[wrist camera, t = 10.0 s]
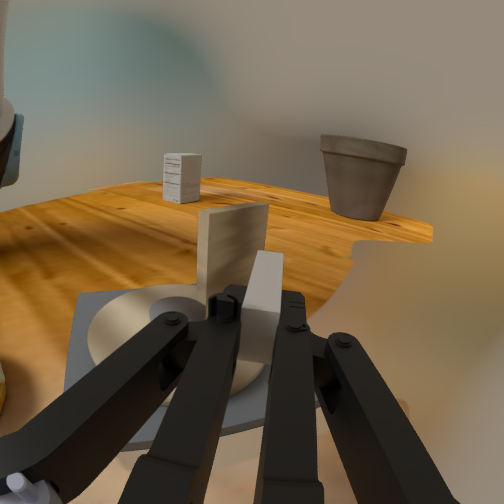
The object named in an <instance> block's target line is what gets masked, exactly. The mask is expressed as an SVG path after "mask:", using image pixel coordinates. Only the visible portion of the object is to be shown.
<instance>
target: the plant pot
mask: <svg viewBox="0 0 504 504" xmlns="http://www.w3.org/2000/svg"><path fill="white" fill-rule="evenodd" d="M320 151H322V152H323V156H324V163H325V170H326V177H327V185H328V193H329V200H330V206H331V210H332V211H333V212H334V213H336V214H339V215H341V216H344V217H348V218H353V219H358V220H366V221H375V220H378V219H379V217H380V216H381V214H382V212H383V209H384V207H385V205H386V203H387V200H388V198H389V196H390V193H391V191H392V189H393V186H394V184H395V181H396V179H397V176H398V174H399V171H400V168H401V166H403V165H405V159H406V154H407V149H406V148H403V147H400V146H396V145H392V144H387V143H383V142H378V141H373V140H367V139H361V138H355V137H348V136H339V135H324V134H323V135H321V145H320Z"/></svg>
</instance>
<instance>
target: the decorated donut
mask: <svg viewBox="0 0 504 504" xmlns="http://www.w3.org/2000/svg"><path fill="white" fill-rule="evenodd" d="M6 393H7V389H6V383H5V376H4V373H3V370H2V367H1V362H0V415H1V409H2V407H3V404H4V401H5V396H6Z"/></svg>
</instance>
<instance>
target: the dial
mask: <svg viewBox="0 0 504 504" xmlns="http://www.w3.org/2000/svg"><path fill="white" fill-rule="evenodd" d="M268 209H269V204H267V203H263V202H259V201H258V202H251V203H244V204H237V205H231V206H224V207H217V208H211V209H205V210H199V216H198V244H197V285H190V284H166V285H157V286H150V287H145V288H141V289H137V290H134V291H131V292H128V293H126V294H123V295H121V296H119V297H117V298H115V299H114V300H112V301H110V302H109V303H108V304H106V305H105V306H104V307H103V308H102V309H101V310H99V311H98V313H97V314H96V315H95V317H94V318H93V320H92V322H91V324H90V326H89V330H88V336H87V341H88V348H89V351H90V355H91V358H92V361H93V364H94V366H95V367H96V366H97V365H98V364H99V363H100V362H102V361H103V360H104V359H105V358H107V357H108V356H109V355H110V354H112V353H113V352H114V351H115V350H116V349H118V348H119V347H120V346H121V345H123V344H124V343H125V342H126V341H127V340H129V339H130V338H131V337H132V336H134V335H135V334H136V333H137V332H139V331H140V330H141V329H142V328H144V327H145V326H146V325H147V324H148V323H150V322H151V321H152V320H153V319H155V318H156V317H157V316H158V315H160V314H162V313H164V312H168V311H177V312H181V313H183V314H185V315H186V316H187V317H188V322H191V321H203V320H206V319H207V317H208V298H209V297H210V296H211V295H214V294H216V293H223V291H224V288H225V287H227V286H228V285H230V284H235V285H242V286H248V284H249V280H250V277H251V273H252V270H253V266H254V263H255V259H256V255H257V252H258V250H262V251H264V246H265V237H266V228H267V218H268ZM237 358H238V356H237ZM265 365H266V364H264V363H256V362H249V361H242V360H237V363H236V370H235V374H234V379H233V383H232V387H231V391H230V395H233V394H235V393H237V392H238V391H240V390H242V389H243V388H245V387H246V386H248V385H249V384H250V383H251V382H252V381H253V380H255V379H256V377H257V376H258V375H259V374H260V373H261V372H262V370H263V368H264V366H265ZM175 390H176V388H175V389H174V390H173V391H172V393H171V394H170V395H169V396H168V397H167V399H166V400H165V401H164V402H163V403H162V404H161V405H164V406H169V403H170V401H171V399H172V396H173V394H174V392H175ZM230 395H229V396H230Z"/></svg>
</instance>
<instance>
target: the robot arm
mask: <svg viewBox="0 0 504 504" xmlns="http://www.w3.org/2000/svg"><path fill="white" fill-rule="evenodd" d="M9 1H10V0H0V189H1V188H2V187H5V186H9V185H13V184H14V183H15V182H16V181H17V180H18V177H19V163H20V149H21V138H22V130H23V122H24V116H23V115H22V114H18V113H15V114H14V109H13V106H12V104H11V103H10V102H9V101H8V100H7V99H6V98H4V87H3V86H4V85H3V68H4V66H3V65H4V44H5V31H6V21H7V14H8V7H9ZM282 273H283V253H278V252H270V251H262V250H258V252H257V255H256V259H255V263H254V266H253V270H252V273H251V277H250V280H249V284H248V286H242V285H235V284H230V285H228V286H227V287H225V288H224V291H223V293H216V294H214V295H211V296H210V297H209V298H208V317H207V319H206V320H203V321H191V322H188V317H187V316H186V315H185V314H183V313H181V312H177V311H168V312H164V313H162V314H160V315H158V316H157V317H156V318H155V319H153V320H152V321H151V322H150V323H148V324H147V325H146V326H145V327H144V328H142V329H141V330H140V331H139V332H137V333H136V334H135V335H134V336H132V337H131V338H130V339H129V340H127V341H126V342H125V343H124V344H123V345H121V346H120V347H119V348H118V349H116V350H115V351H114V352H113V353H112V354H110V355H109V356H108V357H107V358H105V359H104V360H103V361H102V362H100V363H99V364H98V365H97V366H96V367H94V368H93V369H92V370H91V371H90V372H88V373H87V374H86V375H85V376H83V377H82V378H81V379H80V380H79V381H77V382H76V383H75V384H74V385H72V386H71V387H70V388H69V389H68V390H66V391H65V392H64V393H63V394H62V395H60V396H59V397H58V398H57V399H56V400H54V401H53V402H52V403H51V404H49V405H48V406H47V407H46V408H45V409H43V410H42V411H41V412H40V413H39V414H37V415H36V416H35V417H34V418H33V419H31V420H30V421H29V422H28V423H27V424H25V425H24V426H23V427H22V428H21V429H20V430H18V431H16V432H14V433H11V434H8V435H6V436H3V437H0V504H67V503H69V502H70V501H72V500H73V499H74V498H76V497H77V496H79V495H80V494H81V493H82V492H83V491H84V490H85V489H86V488H87V487H88V486H89V485H90V484H91V483H92V482H93V481H94V480H95V479H96V478H97V477H98V475H99V474H100V473H101V472H102V471H103V470H104V469H105V468H106V467H107V466H108V464H109V463H110V462H111V461H112V460H113V459H114V458H115V457H116V456H117V454H118V453H119V452H120V451H121V450H122V449H123V448H124V447H125V445H126V444H127V443H128V442H129V441H130V440H131V439H132V438H133V436H134V435H135V434H136V433H137V432H138V431H139V430H140V429H141V427H142V426H143V425H144V424H145V423H146V422H147V420H148V419H149V418H150V417H151V416H152V415H153V414H154V412H155V411H156V410H157V409H158V408H159V407H160V405H161V404H162V403H163V402H164V401H165V400H166V399H167V397H168V396H169V395H170V394H171V393H172V391H173V390H174V389H175V388H176V390H175V392H174V394H173V396H172V399H171V401H170V403H169V406H168V408H167V410H166V413H165V415H164V417H163V420H162V422H161V424H160V427H159V429H158V431H157V434H156V436H155V438H154V441H153V443H152V445H151V448H150V450H149V452H148V453H147V454H143V455H141V456H140V457H139V458H138V459H137V461H136V463H135V465H134V467H133V469H132V472H131V474H130V476H129V478H128V481H127V483H126V485H125V488H124V490H123V492H122V495H121V497H120V499H119V502H118V504H203V502H204V497H205V493H206V489H207V485H208V481H209V477H210V473H211V469H212V465H213V461H214V457H215V453H216V449H217V445H218V440H219V437H220V433H221V429H222V424H223V420H224V416H225V412H226V408H227V404H228V400H229V395H230V391H231V387H232V383H233V379H234V374H235V370H236V363H237V360H242V361H249V362H256V363H264V364H271V369H270V374H269V380H268V384H269V385H268V394H267V403H266V411H265V420H264V428H263V436H262V444H261V452H260V459H259V467H258V474H257V481H256V488H255V495H254V502H253V504H324V487H323V484H322V483H321V482H319V480H318V471H317V432H316V408H315V393H316V396H317V398H318V401H319V404H320V406H321V408H322V411H323V414H324V416H325V419H326V421H327V424H328V427H329V429H330V432H331V435H332V437H333V440H334V442H335V445H336V448H337V450H338V453H339V455H340V458H341V461H342V463H343V466H344V468H345V471H346V474H347V476H348V479H349V482H350V484H351V487H352V489H353V492H354V495H355V497H356V500H357V503H358V504H460V503H459V502H458V501H457V500H456V499H454V498H453V496H452V494H451V492H450V490H449V489H448V487H447V485H446V484H445V482H444V480H443V478H442V476H441V474H440V473H439V471H438V469H437V467H436V466H435V464H434V462H433V460H432V459H431V457H430V455H429V454H428V452H427V450H426V448H425V447H424V445H423V443H422V442H421V440H420V438H419V437H418V435H417V433H416V431H415V430H414V428H413V427H412V425H411V423H410V422H409V420H408V418H407V417H406V415H405V413H404V412H403V410H402V408H401V407H400V405H399V404H398V402H397V400H396V399H395V397H394V396H393V394H392V392H391V391H390V389H389V388H388V386H387V385H386V383H385V381H384V380H383V378H382V377H381V375H380V373H379V372H378V370H377V369H376V367H375V366H374V364H373V363H372V361H371V360H370V358H369V356H368V355H367V353H366V352H365V350H364V349H363V347H362V346H361V344H360V343H359V341H358V340H357V339H356V338H355V337H354V336H352V335H350V334H347V333H341V332H337V333H333V334H331V335H330V336H329V337H328V339H325V338H322V337H319V336H317V335H315V334H313V333H312V332H311V331H310V327H309V326H308V324H307V321H306V309H305V297H304V296H303V295H302V294H301V293H300V292H295V291H287V290H282ZM237 356H238V358H237Z"/></svg>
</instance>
